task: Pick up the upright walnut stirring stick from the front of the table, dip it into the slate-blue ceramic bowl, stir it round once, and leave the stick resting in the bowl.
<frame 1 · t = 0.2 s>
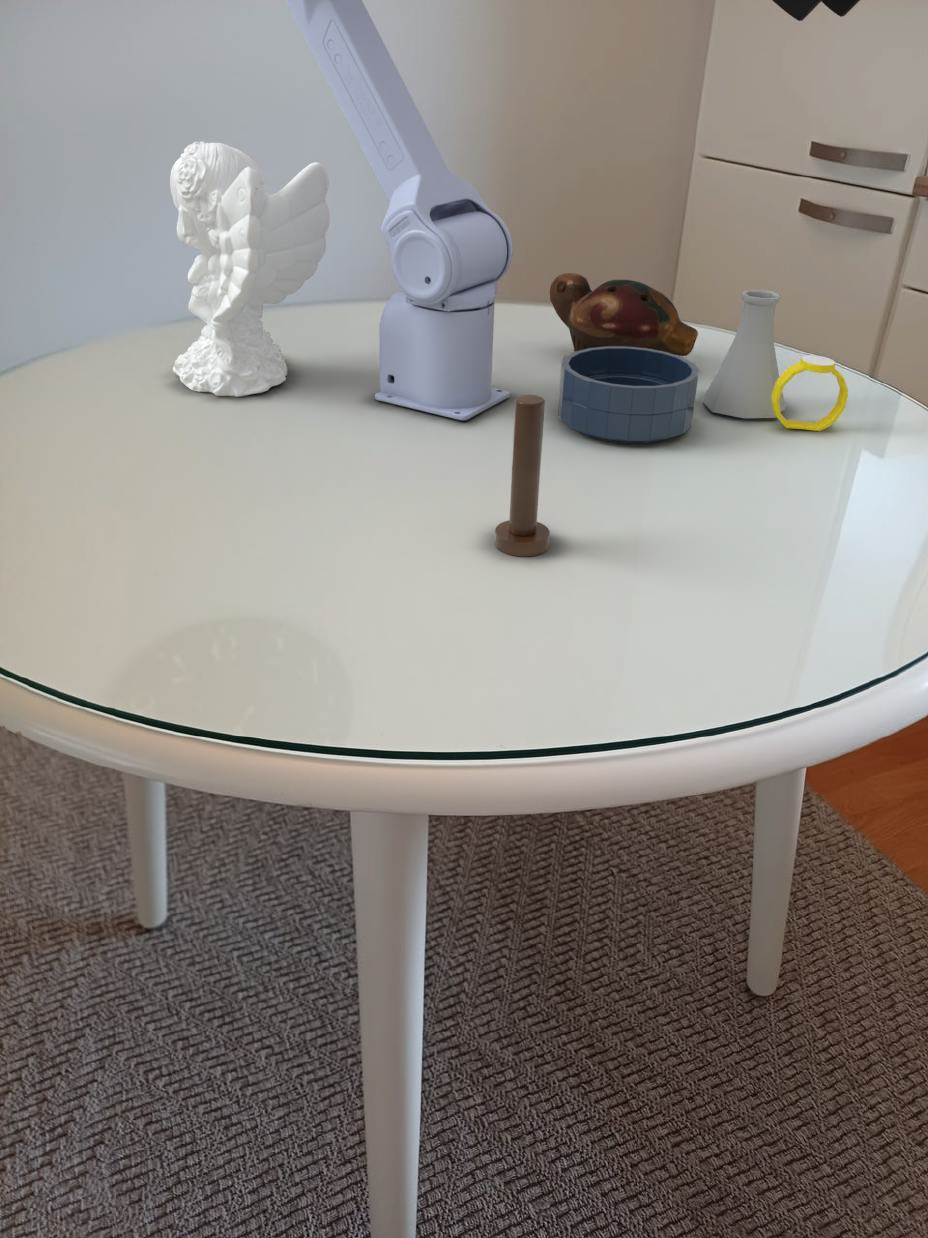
hand: (835, 5, 67), 31 cm above the table, tool tilted 45°, fingers open, 7 cm apart
decorative turtle: (617, 362, 108), on the table
bowl: (624, 423, 92), on the table
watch: (802, 430, 93), on the table
stirring stick: (521, 544, 72), on the table
flask: (742, 409, 97), on the table
cherub figurine: (248, 377, 101), on the table
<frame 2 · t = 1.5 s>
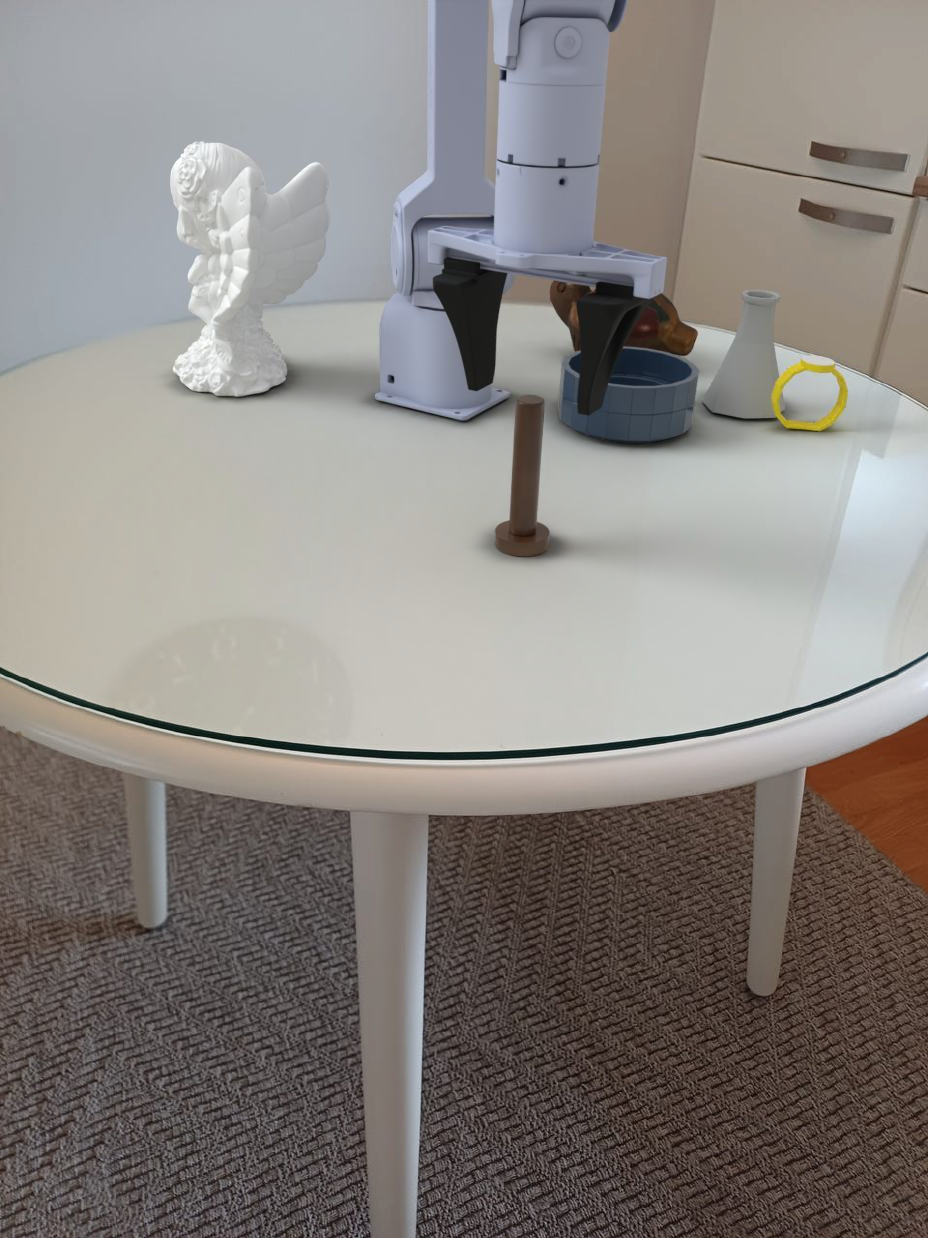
hand: (533, 398, 67), 10 cm above the table, tool pointing down, fingers open, 7 cm apart
nothing on the table moved.
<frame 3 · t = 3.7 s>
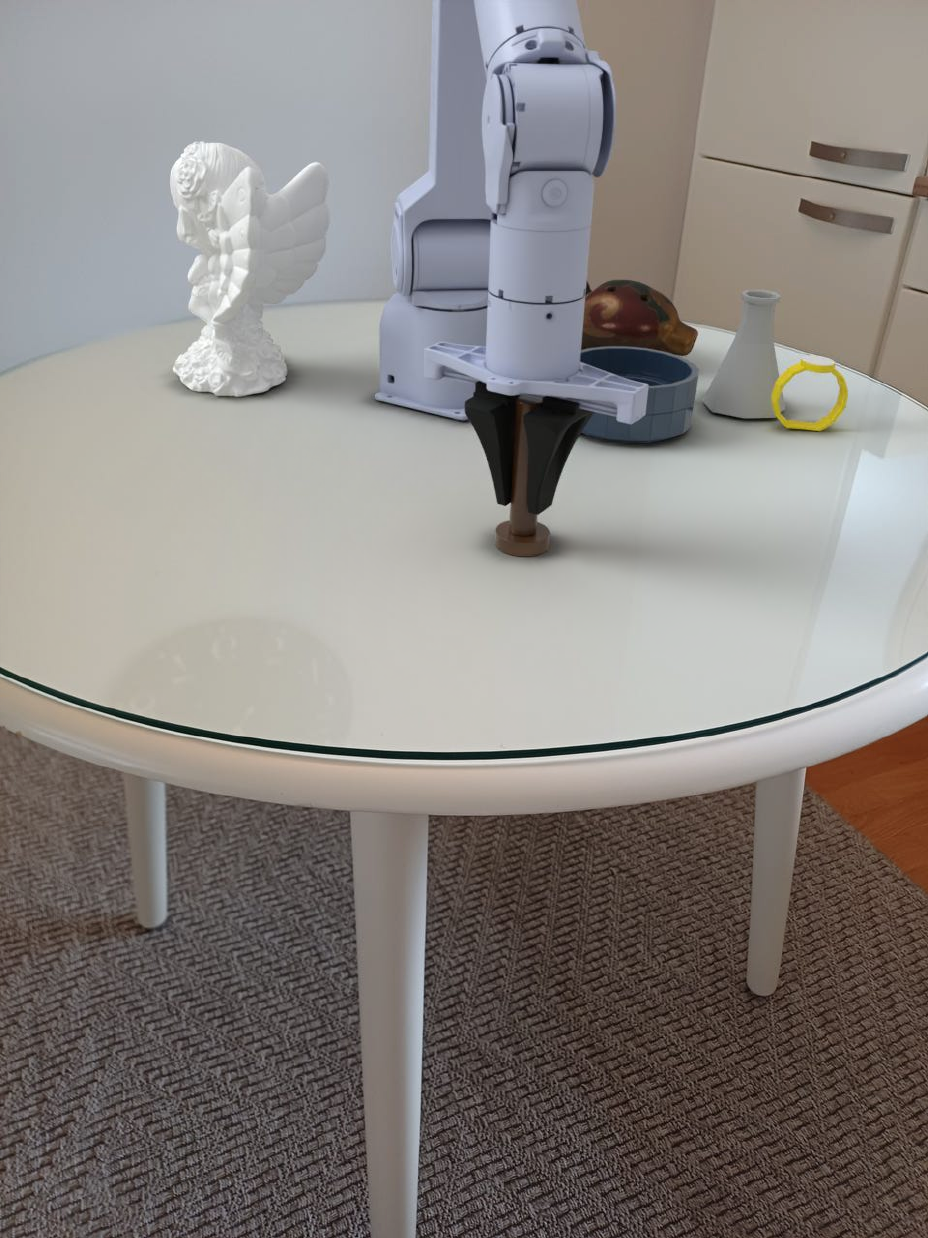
hand: (524, 504, 71), 3 cm above the table, tool pointing down, fingers closed on stirring stick, 2 cm apart
stirring stick: (521, 544, 72), on the table, touching gripper
everything else where it was.
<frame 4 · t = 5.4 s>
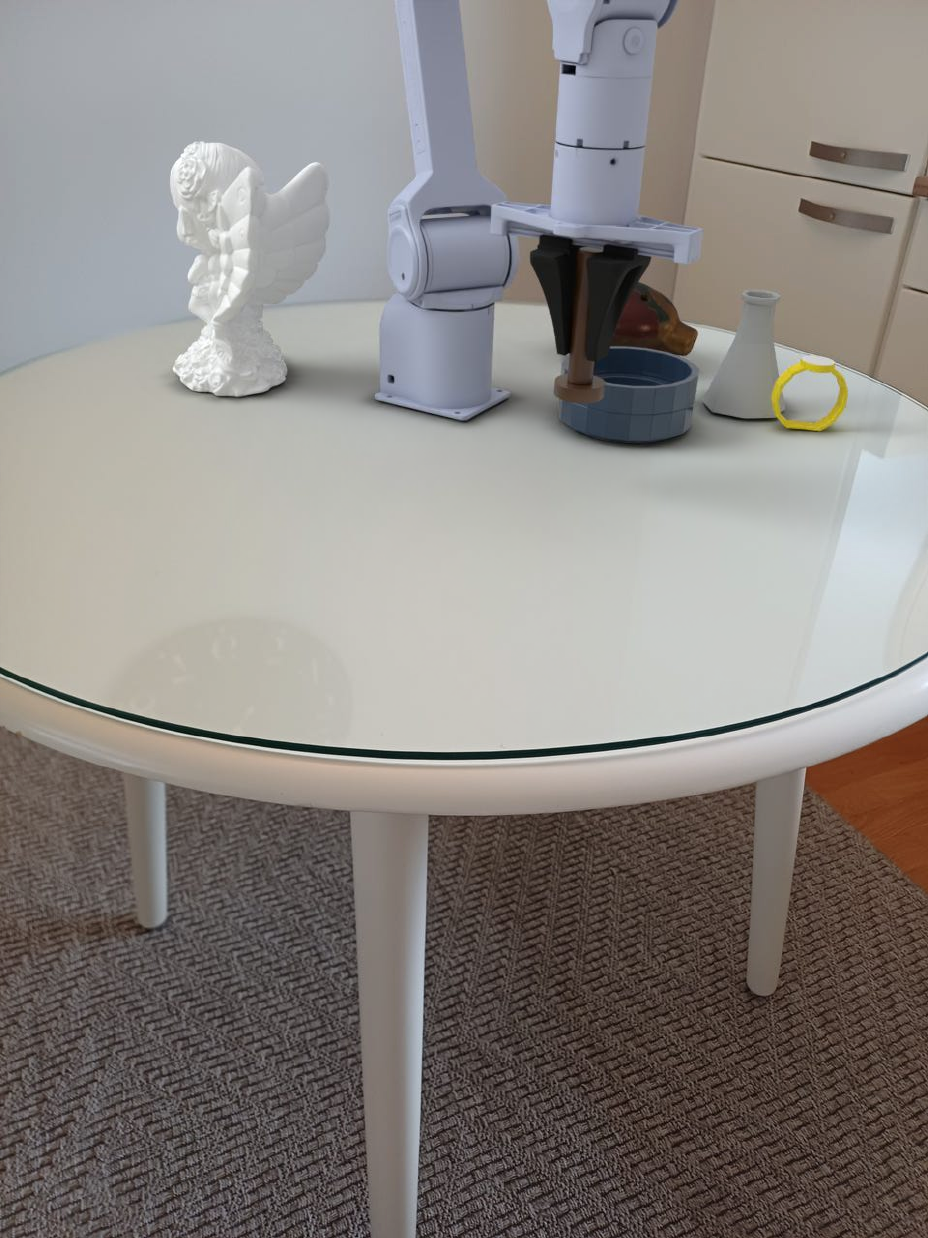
hand: (582, 354, 76), 10 cm above the table, tool pointing down, fingers closed on stirring stick
stirring stick: (578, 394, 77), point 7 cm above the table, touching gripper
everything else where it was.
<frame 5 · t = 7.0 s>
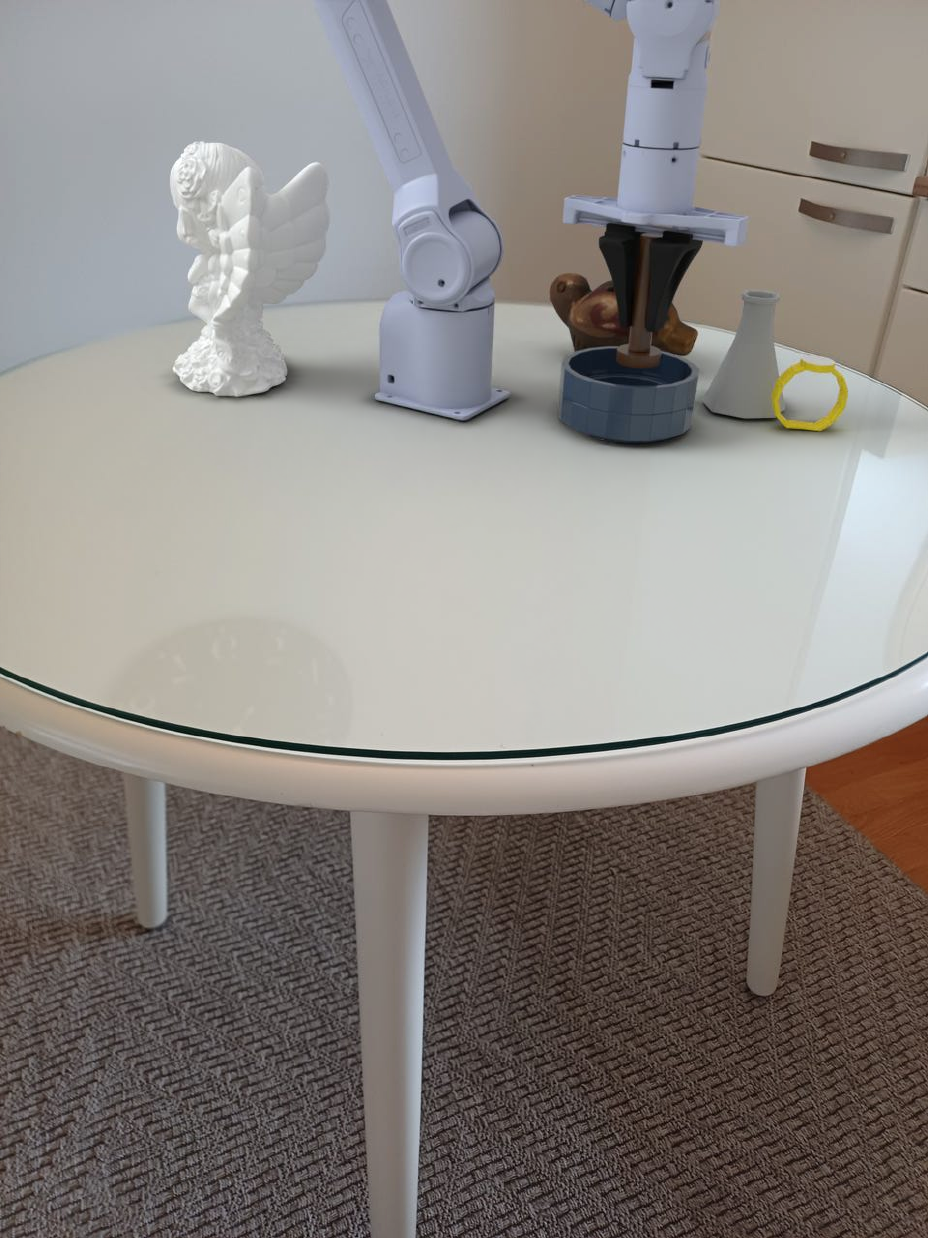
hand: (641, 326, 88), 8 cm above the table, tool pointing down, fingers closed on stirring stick
stirring stick: (637, 361, 89), point 5 cm above the table, touching gripper
everything else where it was.
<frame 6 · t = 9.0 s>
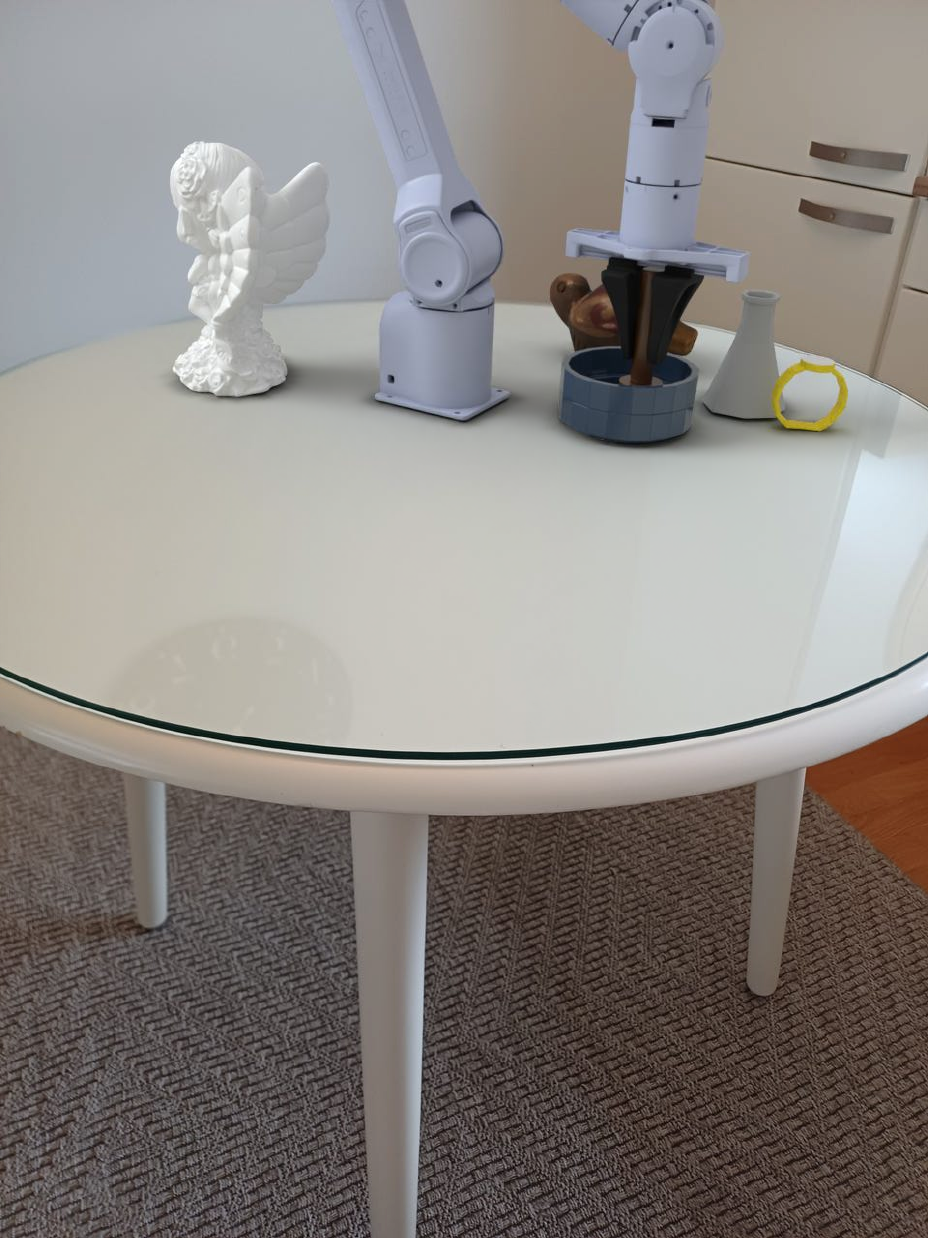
hand: (643, 358, 89), 6 cm above the table, tool pointing down, fingers closed on stirring stick, 2 cm apart
stirring stick: (639, 392, 90), point 3 cm above the table, touching gripper
everything else where it was.
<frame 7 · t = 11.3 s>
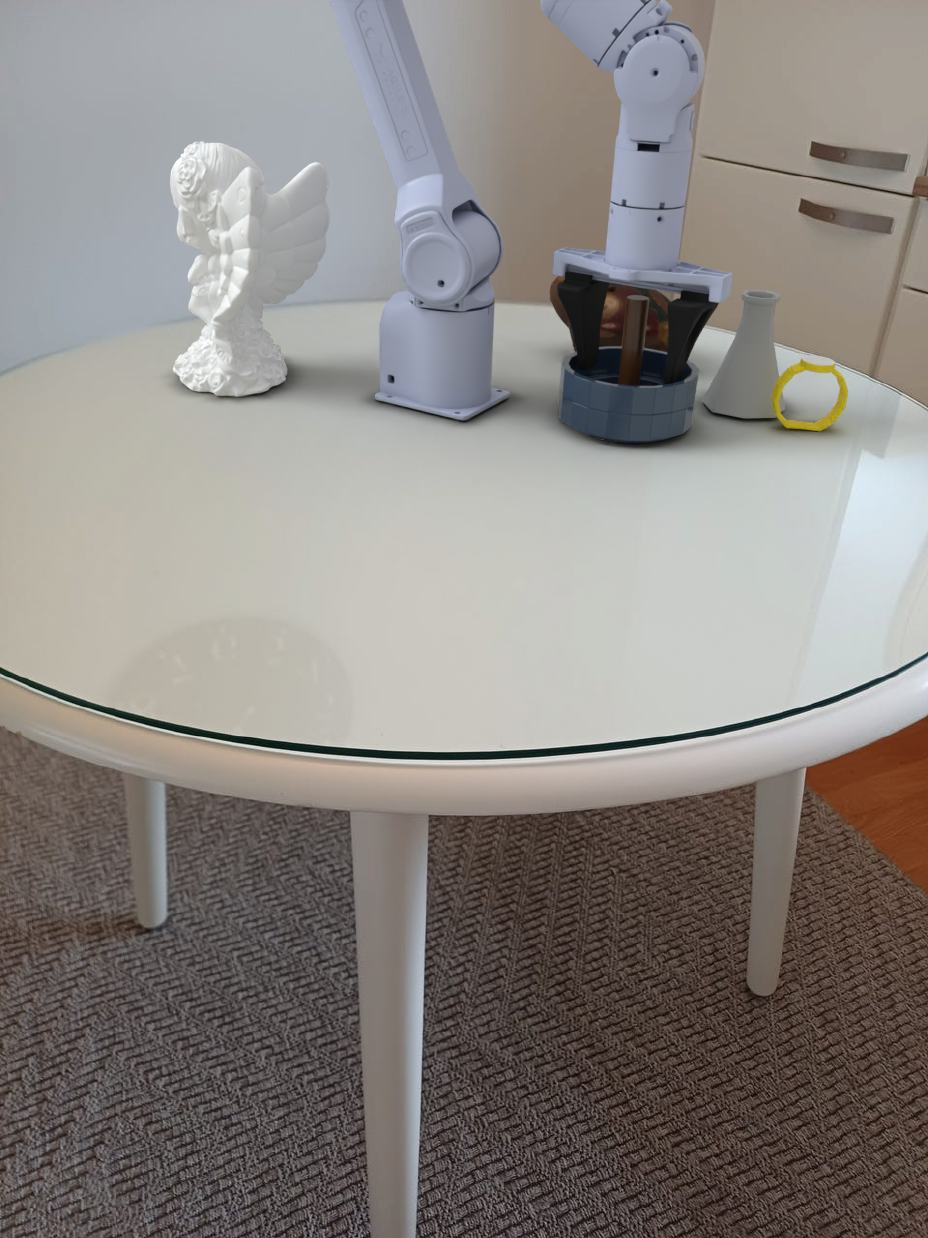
hand: (628, 375, 90), 4 cm above the table, tool pointing down, fingers open, 7 cm apart
stirring stick: (625, 416, 92), point 1 cm above the table, touching bowl
everything else where it was.
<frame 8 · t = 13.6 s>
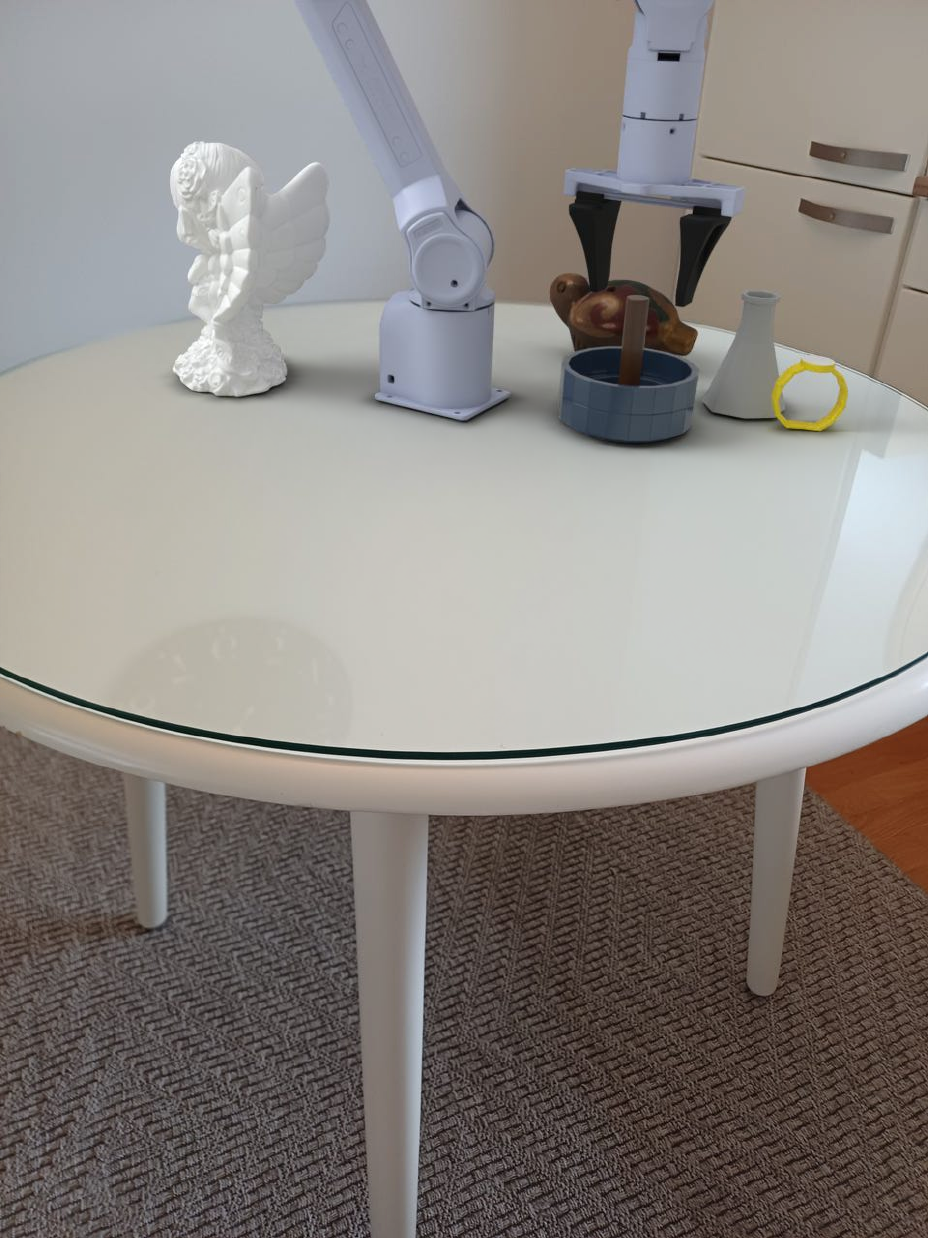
hand: (640, 296, 90), 10 cm above the table, tool pointing down, fingers open, 7 cm apart
nothing on the table moved.
at the end: stirring stick inside the target area in the bowl (0.0 cm from its centre), point 0.6 cm above the bowl's base; the gripper is holding nothing; stirring stick moved 25.4 cm from its start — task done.
